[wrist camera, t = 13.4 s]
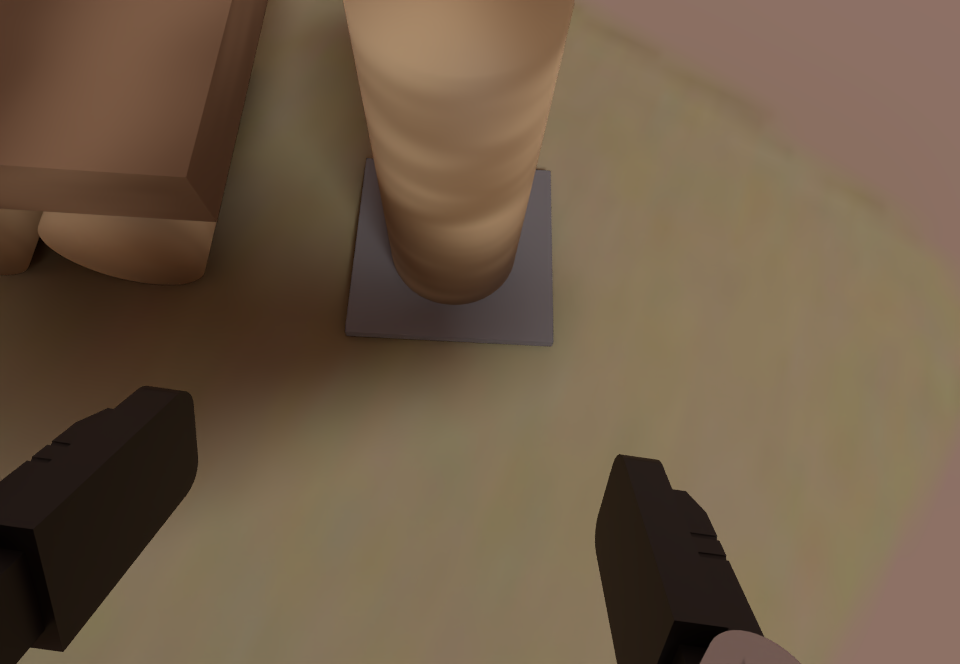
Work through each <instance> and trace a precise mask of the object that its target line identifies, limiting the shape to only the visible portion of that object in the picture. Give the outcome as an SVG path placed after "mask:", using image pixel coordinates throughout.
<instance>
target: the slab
mask: <svg viewBox="0 0 960 664" xmlns="http://www.w3.org/2000/svg"><path fill="white" fill-rule="evenodd" d="M267 1H268V0H0V275H14V274H19V273H22V272H24V271H26V270H27V269H28V267H29V264H30V262H31V259H32V256H33V253H34V250H35V248H36V245H37V242H38V239H39V236H40V238H41V239H42V240H43V241H44V243H45V244H46V245H48V246H49V247H50V248H51V249H52V250H54V251H55V252H57V253H58V254H60V255H61V256H63V257H65V258H67V259H69V260H71V261H73V262H75V263H77V264H79V265H81V266H84V267H86V268H89V269H91V270H94V271H97V272H100V273H103V274H106V275H109V276H113V277H117V278H121V279H125V280H130V281H135V282H141V283H148V284H159V285H177V284H185V283H190V282H193V281H196V280H198V279H200V278H201V277H202V276H203V275H204V273H205V269H206V265H207V261H208V256H209V252H210V248H211V243H212V239H213V234H214V230H215V226H216V222H217V220H218V215H219V211H220V207H221V202H222V198H223V194H224V189H225V185H226V180H227V176H228V172H229V167H230V163H231V159H232V154H233V150H234V146H235V141H236V137H237V132H238V128H239V124H240V119H241V115H242V111H243V106H244V102H245V98H246V93H247V89H248V84H249V80H250V76H251V71H252V67H253V63H254V58H255V54H256V50H257V45H258V41H259V36H260V32H261V28H262V23H263V19H264V15H265V10H266V6H267Z"/></svg>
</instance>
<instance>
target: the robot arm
mask: <svg viewBox="0 0 960 664" xmlns="http://www.w3.org/2000/svg"><path fill="white" fill-rule="evenodd" d="M197 467H198V452H197V440H196V428H195V416H194V404H193V399H192V396H191V395H190V393H188V392H186V391H179V390H172V389H165V388H158V387H151V386H143V387H141V388H139V389H138V390H136V391H135V392H134V393H133V394H132V395H130V396H129V397H128V398H127V399H125V400H124V401H123V402H122V403H121V404H119V405H118V406H117V407H116V408H114V409H110V408H107V409H105V410H103V411H100V412H98V413H96V414H94V415H91V416H89V417H87V418H85V419H83V420H80V421H78V422H76V423H75V424H73V425H72V426H71V427H70V428H68V429H67V430H66V431H64V432H63V433H62V434H61V435H59V436H58V437H57V438H55V439H54V440H53V441H52V444H51V445H46V446H45V447H44V448H43V449H41V450H40V451H39V452H37V453H36V454H35V455H34V456H32V460H31V461H26V462H25V463H23V464H22V465H21V466H19V467H18V468H17V469H16V470H14V471H13V472H12V473H11V474H9V475H8V476H7V477H5V478H4V479H3V480H2V481H0V664H16V663H17V662H18V661H19V660H20V659H21V657H22V656H23V655H24V654H25V653H26V652H27V650H28V649H29V648H30V647H31V648H38V649H46V650H53V651H60V652H64V650H65V649H66V648H67V646H68V645H69V644H70V643H71V641H72V640H73V639H74V638H75V636H76V635H77V634H78V632H79V631H80V630H81V629H82V627H83V626H84V625H85V624H86V622H87V621H88V620H89V618H90V617H91V616H92V615H93V613H94V612H95V611H96V610H97V608H98V607H99V606H100V604H101V603H102V602H103V601H104V599H105V598H106V597H107V596H108V594H109V593H110V592H111V590H112V589H113V588H114V587H115V585H116V584H117V583H118V582H119V580H120V579H121V578H122V576H123V575H124V574H125V573H126V571H127V570H128V569H129V567H130V566H131V565H132V564H133V562H134V561H135V560H136V559H137V557H138V556H139V555H140V553H141V552H142V551H143V550H144V548H145V547H146V546H147V545H148V543H149V542H150V541H151V539H152V538H153V537H154V536H155V534H156V533H157V532H158V531H159V529H160V528H161V527H162V525H163V524H164V523H165V522H166V520H167V519H168V518H169V517H170V515H171V514H172V513H173V511H174V510H175V509H176V508H177V506H178V505H179V504H180V503H181V501H182V500H183V499H184V497H185V496H186V495H187V493H188V492H189V490H190V489H191V487H192V484H193V482H194V479H195V476H196V472H197ZM595 548H596V555H597V560H598V566H599V571H600V576H601V581H602V586H603V592H604V597H605V602H606V607H607V613H608V618H609V623H610V628H611V634H612V639H613V644H614V649H615V655H616V660H617V664H801V663H800V662H799V661H798V660H797V659H796V658H795V657H794V656H792V655H791V654H790V653H789V652H788V651H786V650H785V649H784V648H782V647H781V646H779V645H778V644H776V643H774V642H773V641H771V640H769V639H767V638H765V637H764V635H763V633H762V631H761V629H760V627H759V625H758V623H757V620H756V618H755V616H754V614H753V612H752V610H751V608H750V605H749V603H748V601H747V599H746V597H745V595H744V593H743V590H742V588H741V586H740V584H739V582H738V580H737V578H736V575H735V573H734V571H733V569H732V567H731V565H730V563H729V561H727V560H726V554H725V552H724V550H723V548H722V545H721V543H720V541H718V540H717V535H716V533H715V530H714V528H713V526H712V524H711V522H710V520H709V518H708V515H707V513H706V512H705V511H704V510H703V509H702V508H701V507H700V506H699V505H698V504H697V503H696V501H695V500H694V499H693V498H692V497H691V496H690V495H689V494H688V493H687V492H686V491H680V490H673V489H672V487H671V485H670V482H669V480H668V478H667V475H666V473H665V470H664V468H663V465H662V463H661V462H660V461H659V460H656V459H649V458H642V457H635V456H628V455H620V454H619V455H617V456H616V458H615V460H614V463H613V466H612V469H611V472H610V476H609V479H608V483H607V486H606V490H605V493H604V497H603V500H602V504H601V507H600V511H599V514H598V518H597V523H596V531H595Z"/></svg>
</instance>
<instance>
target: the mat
mask: <svg viewBox="0 0 960 664" xmlns="http://www.w3.org/2000/svg"><path fill="white" fill-rule="evenodd" d="M345 333H346V335H347V336H363V337H382V338H401V339H420V340H439V341H458V342H477V343H496V344H515V345H534V346H552V344H553V293H552V233H551V173H550V171H546V170H536V171H535V175H534V179H533V183H532V188H531V192H530V196H529V201H528V205H527V209H526V213H525V218H524V222H523V226H522V230H521V235H520V239H519V243H518V248H517V252H516V256H515V260H514V265H513V268H512V270H511V273H510V274H509V276H508V278H507V279H506V281H505V282H504V283H503V284H502V285H501V286H500V287H499V288H498V289H497V290H496V291H495V292H493V293H492V294H491V295H489V296H487V297H485V298H484V299H481V300H479V301H476V302H472V303H469V304H462V305H448V304H441V303H436V302H433V301H430V300H427V299H425V298H423V297H421V296H420V295H418V294H417V293H415V292H414V291H412V290H411V289H410V288H409V287H408V286H407V285H406V284H405V283H404V282H403V280H402V279H401V277H400V276H399V274H398V272H397V270H396V268H395V265H394V262H393V258H392V253H391V247H390V242H389V237H388V232H387V227H386V221H385V216H384V211H383V206H382V200H381V195H380V190H379V185H378V180H377V174H376V169H375V164H374V159H373V158H366V166H365V174H364V182H363V190H362V198H361V206H360V214H359V222H358V230H357V238H356V246H355V254H354V262H353V270H352V278H351V286H350V294H349V302H348V310H347V318H346V326H345Z"/></svg>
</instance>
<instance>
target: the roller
mask: <svg viewBox="0 0 960 664" xmlns="http://www.w3.org/2000/svg"><path fill="white" fill-rule="evenodd" d="M343 3H344V8H345V13H346V18H347V23H348V29H349V34H350V39H351V44H352V49H353V55H354V60H355V65H356V70H357V75H358V81H359V86H360V91H361V96H362V102H363V107H364V112H365V117H366V122H367V128H368V133H369V138H370V143H371V148H372V154H373V159H374V164H375V169H376V174H377V180H378V185H379V190H380V195H381V200H382V206H383V211H384V216H385V221H386V227H387V232H388V237H389V242H390V247H391V253H392V258H393V262H394V265H395V268H396V270H397V272H398V274H399V276H400V277H401V279H402V280H403V282H404V283H405V284H406V285H407V286H408V287H409V288H410V289H411V290H412V291H414V292H415V293H417V294H418V295H420V296H421V297H423V298H425V299H427V300H430V301H433V302H436V303H441V304H448V305H462V304H469V303H472V302H476V301H479V300H481V299H484V298H485V297H487V296H489V295H491V294H492V293H493V292H495V291H496V290H497V289H498V288H499V287H500V286H501V285H502V284H503V283H504V282H505V281H506V279H507V278H508V276H509V274H510V273H511V270H512V268H513V265H514V260H515V256H516V252H517V248H518V243H519V239H520V235H521V230H522V226H523V222H524V218H525V213H526V209H527V205H528V201H529V196H530V192H531V188H532V183H533V179H534V175H535V171H536V166H537V162H538V158H539V153H540V149H541V145H542V141H543V136H544V132H545V128H546V123H547V119H548V115H549V111H550V106H551V102H552V98H553V93H554V89H555V85H556V81H557V76H558V72H559V68H560V64H561V59H562V55H563V51H564V46H565V42H566V38H567V34H568V29H569V25H570V21H571V16H572V12H573V8H574V0H343Z"/></svg>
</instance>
